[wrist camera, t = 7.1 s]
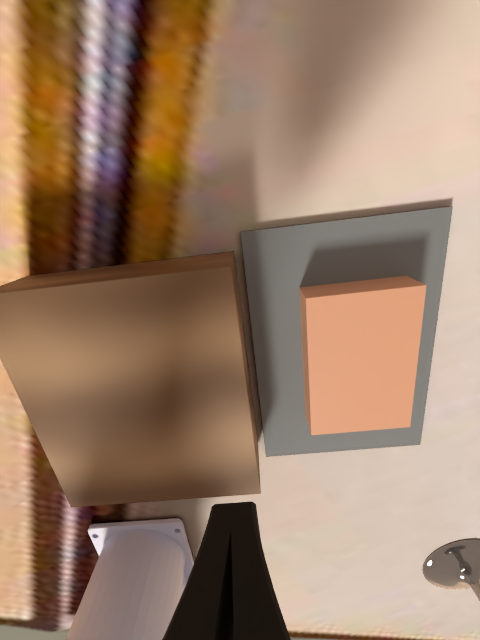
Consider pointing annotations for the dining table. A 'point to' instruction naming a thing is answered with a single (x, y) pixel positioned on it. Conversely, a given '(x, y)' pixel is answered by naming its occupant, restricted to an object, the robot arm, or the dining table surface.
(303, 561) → the dining table surface
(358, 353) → the peach rectangular box
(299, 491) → the dining table surface
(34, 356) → the brown box
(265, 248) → the mat
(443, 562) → the wine glass
